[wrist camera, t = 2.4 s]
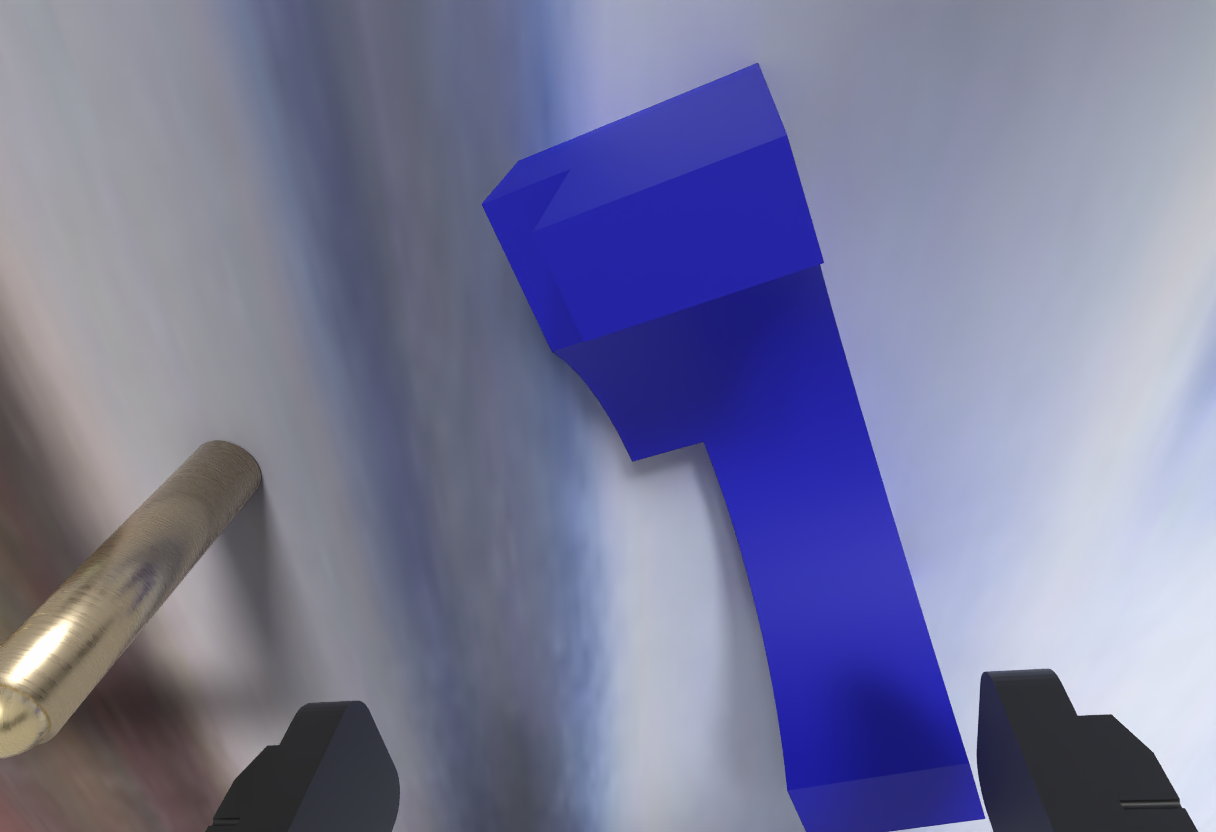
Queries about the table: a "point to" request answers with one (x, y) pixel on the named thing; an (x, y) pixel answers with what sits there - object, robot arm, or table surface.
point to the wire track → (116, 594)
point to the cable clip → (749, 422)
